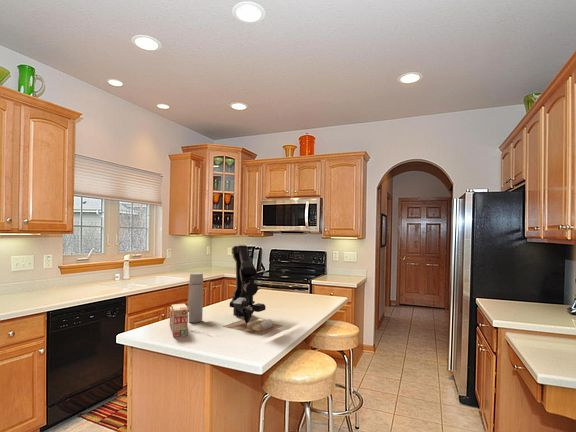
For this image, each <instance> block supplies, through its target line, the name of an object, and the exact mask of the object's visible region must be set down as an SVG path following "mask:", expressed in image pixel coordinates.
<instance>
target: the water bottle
mask: <svg viewBox="0 0 576 432" xmlns="http://www.w3.org/2000/svg"><path fill="white" fill-rule="evenodd" d="M187 284H188V294H187V295H188V296H187V305H186V306H187V308H188V323H194V324H197V323H201V322H202V321H203V311H204V310H203V309H204V308H203V306H204V305H203V303H204V301H203V300H204V274H203V273H202V272H191V273H190V274H189V282H187Z"/></svg>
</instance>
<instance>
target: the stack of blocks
mask: <svg viewBox="0 0 576 432" xmlns="http://www.w3.org/2000/svg"><path fill="white" fill-rule="evenodd" d="M188 310H189V307H188V308H187V305H186V303H176V304H171V306H170V307H169V328H170V331H171V333H172V334H171V335H172V337H173V338H179V337H187V336H188V323H189V311H188Z"/></svg>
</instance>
